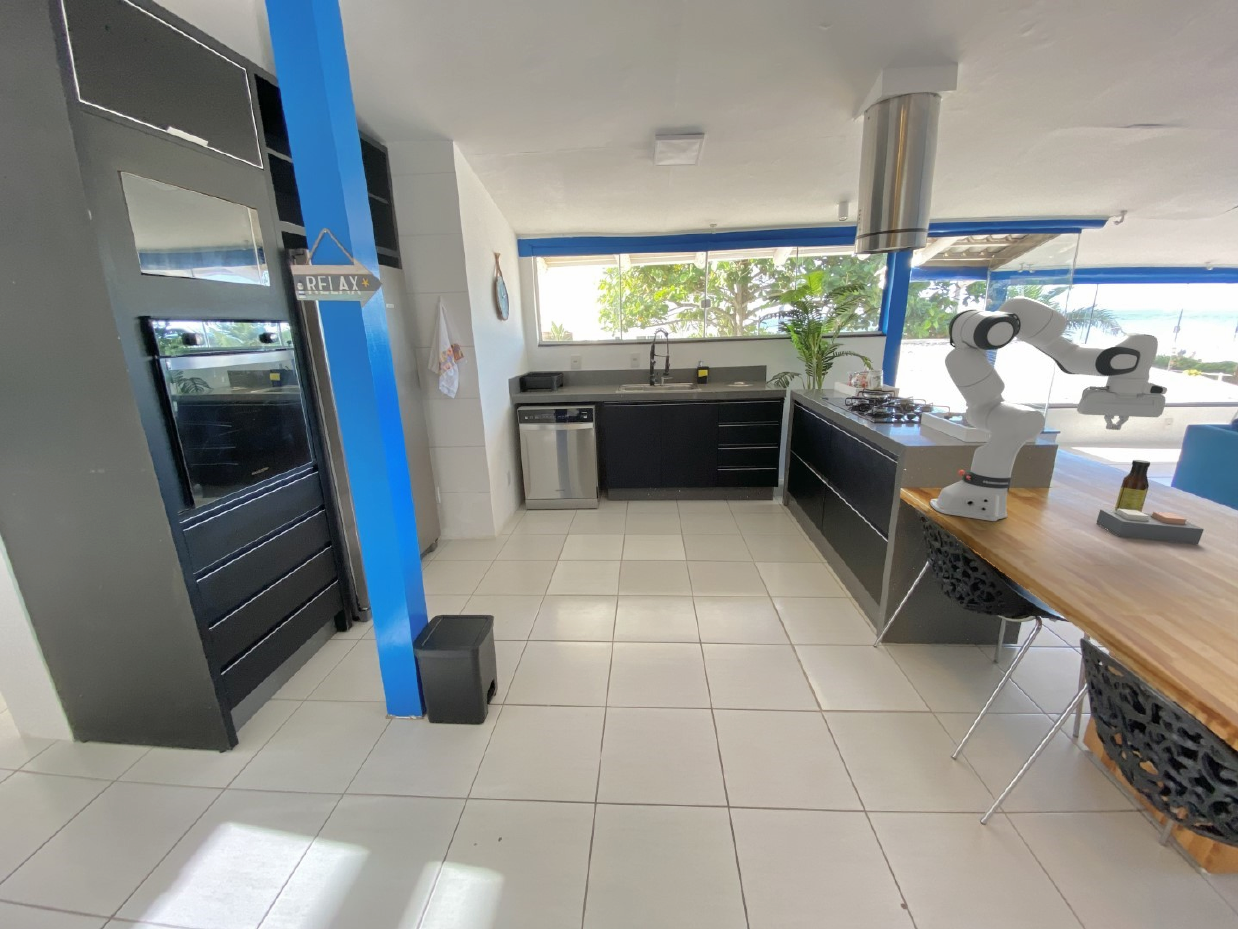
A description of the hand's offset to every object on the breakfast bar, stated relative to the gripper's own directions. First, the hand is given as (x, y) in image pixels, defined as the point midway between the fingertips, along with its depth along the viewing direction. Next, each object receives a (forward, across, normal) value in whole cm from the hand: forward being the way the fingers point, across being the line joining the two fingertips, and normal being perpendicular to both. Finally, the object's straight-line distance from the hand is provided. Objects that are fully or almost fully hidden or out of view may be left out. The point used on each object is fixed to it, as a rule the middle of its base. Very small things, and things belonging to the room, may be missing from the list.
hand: (1112, 429), depth 151 cm
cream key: (+28, +5, -10) cm, 31 cm away
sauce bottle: (+31, +14, +6) cm, 35 cm away
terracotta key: (+28, +14, -10) cm, 33 cm away
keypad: (+31, +10, -10) cm, 34 cm away
